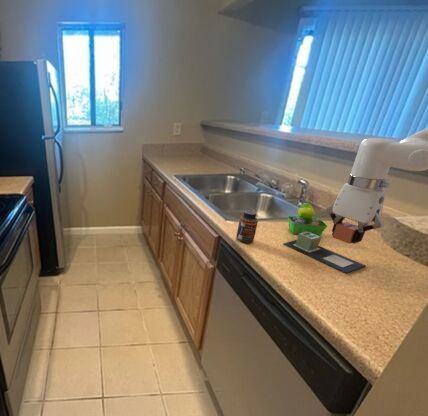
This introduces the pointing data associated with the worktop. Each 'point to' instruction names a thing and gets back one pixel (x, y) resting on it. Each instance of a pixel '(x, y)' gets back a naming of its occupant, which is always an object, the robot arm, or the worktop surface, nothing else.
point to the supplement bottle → (247, 227)
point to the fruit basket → (306, 221)
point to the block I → (345, 232)
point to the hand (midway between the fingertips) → (345, 238)
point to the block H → (308, 240)
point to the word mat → (328, 258)
